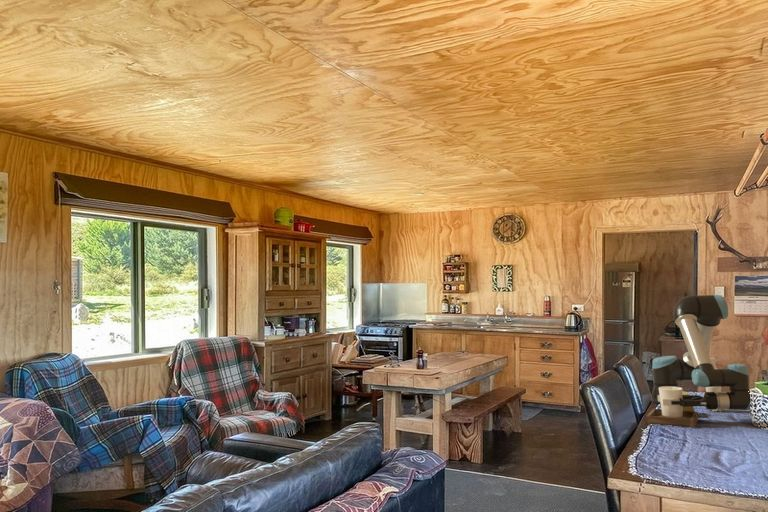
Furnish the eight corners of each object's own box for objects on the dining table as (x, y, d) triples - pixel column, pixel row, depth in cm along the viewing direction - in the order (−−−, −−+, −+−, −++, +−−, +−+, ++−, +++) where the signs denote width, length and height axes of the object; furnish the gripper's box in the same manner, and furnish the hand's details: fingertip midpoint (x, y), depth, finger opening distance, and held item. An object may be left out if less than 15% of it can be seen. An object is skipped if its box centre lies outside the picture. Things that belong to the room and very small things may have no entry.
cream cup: (687, 417, 254) (685, 389, 255) (663, 417, 256) (661, 389, 257) (681, 413, 264) (679, 386, 265) (657, 413, 266) (655, 386, 267)
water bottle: (702, 410, 283) (699, 358, 284) (712, 408, 286) (709, 356, 287) (716, 412, 276) (713, 359, 278) (726, 411, 279) (723, 358, 281)
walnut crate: (653, 416, 273) (653, 408, 273) (698, 419, 263) (697, 411, 263) (646, 424, 257) (646, 416, 258) (693, 428, 247) (693, 419, 248)
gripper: (724, 414, 246) (666, 413, 251) (708, 404, 267) (655, 404, 272) (723, 396, 246) (665, 395, 251) (707, 388, 267) (654, 388, 273)
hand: (660, 400), depth 262 cm, fingers closed on cream cup, 9 cm apart
